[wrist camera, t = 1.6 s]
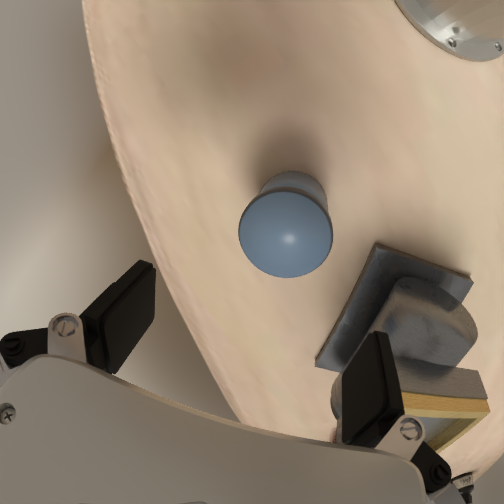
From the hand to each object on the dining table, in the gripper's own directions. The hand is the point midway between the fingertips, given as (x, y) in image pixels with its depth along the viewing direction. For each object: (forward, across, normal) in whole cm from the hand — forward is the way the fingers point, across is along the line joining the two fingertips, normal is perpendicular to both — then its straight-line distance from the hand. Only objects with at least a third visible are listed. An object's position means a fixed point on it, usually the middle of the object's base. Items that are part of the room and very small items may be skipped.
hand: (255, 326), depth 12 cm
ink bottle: (+16, -79, +61) cm, 101 cm away
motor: (+15, -14, +8) cm, 22 cm away
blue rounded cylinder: (+15, 0, -1) cm, 15 cm away
